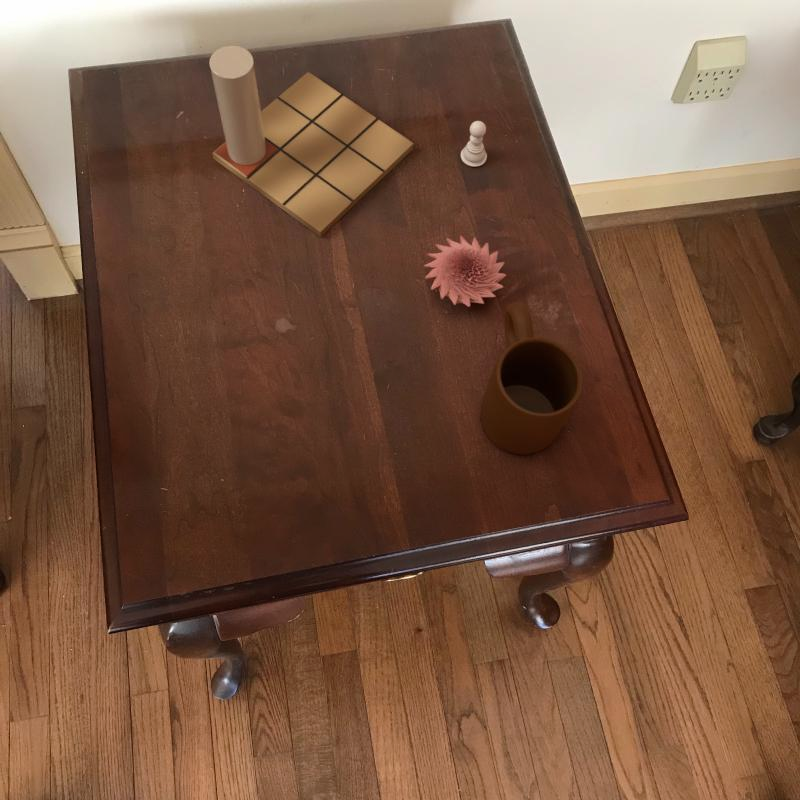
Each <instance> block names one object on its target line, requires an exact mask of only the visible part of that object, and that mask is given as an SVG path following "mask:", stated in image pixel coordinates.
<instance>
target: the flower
mask: <svg viewBox="0 0 800 800" xmlns="http://www.w3.org/2000/svg"><path fill="white" fill-rule="evenodd" d="M445 240H446V241H447V242H448V244H449V246H448V245H447V246H446V245H442V244H439V243H434V245H435V247H436V248H437V249H438V250H440V251H441V252H438V253H431V252H430V253H429V252H428V253H427V254H426V256H429V258H432V259H434V260H433V261H431V262H429V263H426V264H423V268H431V270H430V271H429V273H428V274H427V275H426V276H424V280H425V279H426V280H428V279H433V278H434V280H433V283H432V285H431V287H430V290H431V291H433V290H435V289H437V288H438V291H439V294H440V300H444V299H445V297H447V298H448V299H449V300H451V302H452V303H453V305H454V306H456V305H457V304H464V305H465V306H466V307H468V308H470V307H471V303H473V304H474V303H475V304H482V305H484V304H485V302H484V300H483V299H485V298H496V297H497V296H496V295H495V294H494V292H495V291H498V290H499V289H503V288H504V286H503V284H500V283H499V282H500V281H502V280H503V279H504V278H505V277H506V276H507V273H502V272H500V270H501V269H502V268H503V266H504V265H505V263H506V262H505V261H500V262H497V259H498V254H499V251H498V250H496V251H494V252H492V253H490V248H489V242H485V243H484V245H483V246H482V247H481V246H480V244H479V242H478V240H477V238H476V237H473V238H472V242H471V244H470V243H469V242H468V241H467V240H466V239H465V238H464V237H463V236H462V235H459V242H456V241H454V240H452V239H451V238H449V237H446V239H445Z"/></svg>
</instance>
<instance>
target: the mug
mask: <svg viewBox="0 0 800 800" xmlns="http://www.w3.org/2000/svg"><path fill="white" fill-rule="evenodd" d="M503 325H504V337H505V342H506V343H505V344H506V347H507V348H506V349H504V351H503V352H502V353H501V355H500V356H499V358H498V360H497V362H496V363H495V365H494V367H493V369H492V372H491V374H490V378H489V381H488V383H487V386H486V389H485V393H484V396H483V399H482V403H481V407H480V420H481V426H482V427H483V430H484V432H485V434H486V435H487V437H488V438H489V439H490V441H491V442H493V444H495V445H496V446H497V447H498V448H500V449H502V450H504V451H506V452H509V453H512V454H517V455H531V454H535V453H537V452H540V451H542V450H543V449H546V448H548V447H549V446H550V445H551V444H552V443H553V442H554V441H555V439H556V438H557V437H558V436H559V434H560V432H561V431H562V429H563V428H564V426H565V425H566V423H567V421H568V420H569V418H570V417H571V415H572V413H573V412H574V410H575V408H576V406H577V405H578V403H579V399H580V397H581V395H582V393H583V388H584V376H583V371H582V367H581V365H580V363H579V361H578V359H577V358H576V357H575V355H574V354H573V353H572V352H571V350H569V349H568V348H567V347H565V346H564V345H562V344H561V343H559V342H557V341H554V340H552V339H549V338H545V337H544V338H543V337H535V334H534V326H533V320H532V315H531V313H530V310H529V308H528V307H527V305H526V304H525V303H523V302H521V301H515V302H512V303H510V304H509V305H508V306H507V308H506V310H505V314H504V324H503Z"/></svg>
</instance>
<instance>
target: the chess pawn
mask: <svg viewBox="0 0 800 800" xmlns="http://www.w3.org/2000/svg"><path fill="white" fill-rule="evenodd" d="M486 133H487V126H486V124H485V122H483V121H481V120H475V121H473V122H472V123H471V124H470V126H469V134H470V135H469V141H468V142H467V143H466V145H465V146H464V147H463V149H462V150H461V151H460V159H461V161H462V162H463V163H464V164H465V165H466V166H469V167H473V168H475V167H476V168H477V167H480V166H482V165H484V164H485V163H486V161H487V159H488V158H487V157H488V153H487V152H486V148H485V145H484V142H483V140H484V136H485V135H486Z"/></svg>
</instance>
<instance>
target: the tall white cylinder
mask: <svg viewBox="0 0 800 800" xmlns="http://www.w3.org/2000/svg"><path fill="white" fill-rule="evenodd" d="M208 62H209V69H210V74H211V79H212V83H213V88H214V92H215V97H216V98H215V99H216V102H217V108H218V112H219V116H220V121H221V127H222V131H223V135H224V140H225V141H224V142H226V146H227V151H228V155H229V157H230V158H231V159H232V160H233V161H234V162H236V163H238V164H241V165H252V164H255V163H257V162H259V161H260V160H261V159H262V158H263V157H264V156H265V153H266V143H265V136H264V129H263V122H262V115H261V111H262V108H261V102H260V94H259V88H258V80H257V74H256V68H255V60H254V57H253V55H252V54H251V52H250V51H249V50H248V49H246V48H244V47H243V46H240V45H239V46H238V45H225V46H222V47H219V48H217V49H216V50H215V51H214V52H213V53H212V54H211V56H210V58H209V61H208Z"/></svg>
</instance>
